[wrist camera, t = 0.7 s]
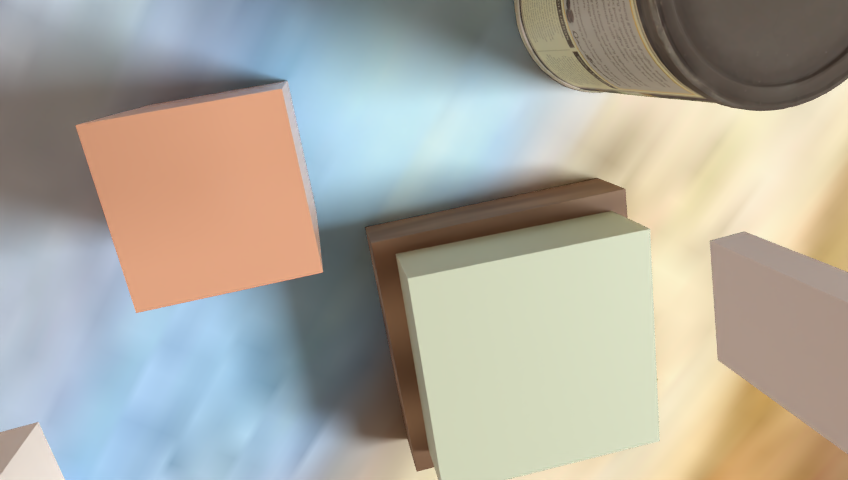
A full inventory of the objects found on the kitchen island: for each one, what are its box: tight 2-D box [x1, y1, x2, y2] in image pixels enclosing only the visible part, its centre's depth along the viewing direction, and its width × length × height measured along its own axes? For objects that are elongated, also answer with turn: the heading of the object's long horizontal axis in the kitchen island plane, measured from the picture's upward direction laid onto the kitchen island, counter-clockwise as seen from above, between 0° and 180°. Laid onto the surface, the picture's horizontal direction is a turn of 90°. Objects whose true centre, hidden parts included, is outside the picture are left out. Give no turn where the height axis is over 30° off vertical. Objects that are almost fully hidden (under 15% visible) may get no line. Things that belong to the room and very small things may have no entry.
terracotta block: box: [75, 81, 323, 313], centre depth 28 cm, size 7×7×11 cm
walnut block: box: [365, 178, 627, 471], centre depth 37 cm, size 14×14×4 cm
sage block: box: [396, 211, 660, 480], centre depth 34 cm, size 12×12×4 cm
